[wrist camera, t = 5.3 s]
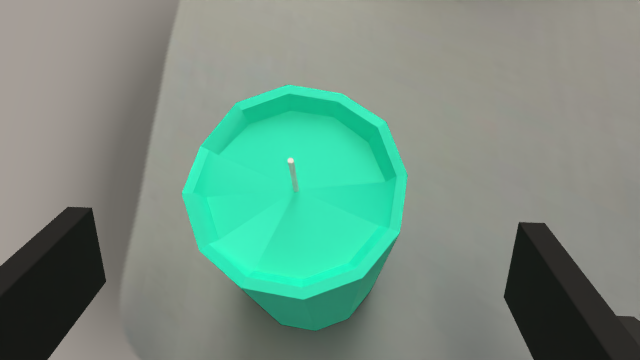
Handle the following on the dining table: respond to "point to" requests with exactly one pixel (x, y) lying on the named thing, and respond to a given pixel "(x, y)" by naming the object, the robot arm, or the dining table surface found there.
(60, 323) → the robot arm
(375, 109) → the dining table surface
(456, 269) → the dining table surface
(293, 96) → the candle
